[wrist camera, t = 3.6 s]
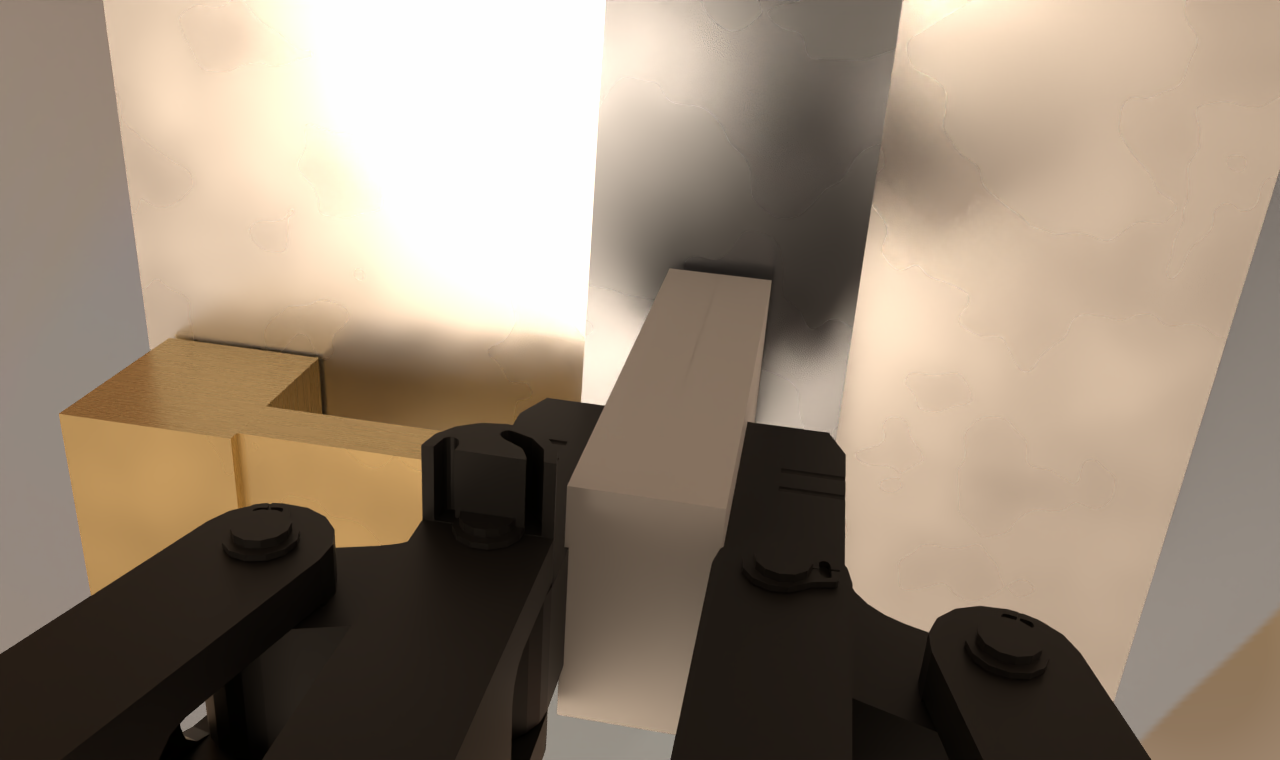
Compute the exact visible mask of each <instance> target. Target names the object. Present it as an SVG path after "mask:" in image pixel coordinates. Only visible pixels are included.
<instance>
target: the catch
mask: <svg viewBox="0 0 1280 760" xmlns="http://www.w3.org/2000/svg"><path fill="white" fill-rule="evenodd" d="M59 417H60V423H61V428H62V434H63V440H64V445H65V451H66V457H67V462H68V468H69V473H70V479H71V485H72V490H73V496H74V502H75V507H76V513H77V518H78V524H79V530H80V535H81V541H82V547H83V552H84V558H85V564H86V569H87V575H88V580H89V586H90V592H91V596H92V595H93V594H95V593H96V592H98V591H99V590H101V589H102V588H104V587H106V586H107V585H109V584H110V583H112V582H113V581H115V580H116V579H118V578H120V577H121V576H123V575H124V574H126V573H127V572H129V571H130V570H132V569H134V568H135V567H137V566H138V565H140V564H141V563H143V562H144V561H146V560H148V559H149V558H151V557H152V556H154V555H155V554H157V553H158V552H160V551H162V550H163V549H165V548H166V547H168V546H169V545H171V544H172V543H174V542H176V541H177V540H179V539H180V538H182V537H183V536H185V535H186V534H188V533H190V532H191V531H193V530H194V529H196V528H197V527H199V526H200V525H202V524H204V523H205V522H207V521H209V520H211V519H213V518H215V517H217V516H219V515H221V514H224V513H226V512H228V511H230V510H234V509H239V508H243V507H247V506H251V505H254V504H261V503H269V504H272V503H284V504H290V505H296V506H301V507H307V508H310V509H311V510H313V511H315V512H317V513H319V514H321V515H323V516H325V517H326V518H327V519H328V521H329V522H330V524H331V525H332V526H333V528H334V529H335V546H336V548H337V547H361V546H381V545H390V544H399V543H403V542H407V541H408V540H409V539H410V537H411V536H412V534H413V533H414V531H415V530H416V528H417V527H418V525H419V524H420V522H421V521H422V468H421V445H422V444H423V443H424V442H425V441H427V440H428V439H429V438H430V437H432V436H433V435H434V434H436V433H439V432H442V431H438V430H431V429H423V428H416V427H409V426H402V425H395V424H388V423H381V422H374V421H366V420H359V419H352V418H345V417H338V416H331V415H324V414H322V401H321V386H320V371H319V358H316V357H309V356H301V355H294V354H286V353H279V352H272V351H264V350H257V349H249V348H242V347H234V346H227V345H219V344H212V343H204V342H197V341H189V340H182V339H174V338H168V339H167V340H165V341H164V342H162V343H161V344H160V345H158V346H157V347H155V348H154V349H152V350H151V351H149V352H148V353H147V354H145V355H144V356H142V357H141V358H139V359H138V360H136V361H135V362H133V363H132V364H131V365H129V366H128V367H126V368H125V369H123V370H122V371H120V372H119V373H117V374H116V375H115V376H113V377H112V378H110V379H109V380H107V381H106V382H104V383H103V384H101V385H100V386H99V387H97V388H96V389H94V390H93V391H91V392H90V393H88V394H87V395H86V396H84V397H83V398H81V399H80V400H78V401H77V402H75V403H74V404H72V405H71V406H70V407H68V408H67V409H65V410H64V411H62V412H61V413H59Z"/></svg>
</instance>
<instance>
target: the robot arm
mask: <svg viewBox="0 0 1280 760" xmlns="http://www.w3.org/2000/svg"><path fill="white" fill-rule="evenodd" d="M771 282H772V280H764V279H755V278H747V277H738V276H730V275H721V274H713V273H704V272H696V271H688V270H679V269H671V268H670V269H669V271H668V273H667V275H666V277H665V279H664V281H663V283H662V286H661V288H660V290H659V292H658V294H657V296H656V298H655V300H654V302H653V305H652V307H651V309H650V311H649V313H648V315H647V317H646V319H645V322H644V324H643V326H642V328H641V330H640V332H639V334H638V336H637V339H636V341H635V343H634V345H633V347H632V349H631V351H630V353H629V356H628V358H627V360H626V362H625V364H624V366H623V368H622V370H621V373H620V375H619V377H618V379H617V381H616V383H615V385H614V387H613V390H612V392H611V394H610V396H609V398H608V400H607V402H606V404H605V405H597V404H590V403H582V402H575V401H567V400H560V399H553V398H546V399H544V400H542V401H540V402H539V403H537V404H535V405H533V406H532V407H530V408H528V409H526V410H525V411H523V412H521V413H520V414H519V416H518V417H517V419H516V420H515V422H514V424H513V425H510V424H498V423H476V424H469V425H461V426H455V427H453V428H450V429H447V430H444V431H442V432H439V433H436V434H434V435H433V436H432V437H430V438H429V439H428V440H427V441H425V442H424V443H423V444H422V445H421V468H422V521H421V522H420V524H419V525H418V527H417V528H416V530H415V531H414V533H413V534H412V536H411V537H410V539H409V540H408V541H407V542H403V543H399V544H390V545H381V546H361V547H337V548H336V546H335V529H334V528H333V526H332V525H331V524H330V522H329V521H328V519H327V518H326V517H325V516H323V515H321V514H319V513H317V512H315V511H313V510H311V509H310V508H307V507H301V506H296V505H290V504H284V503H272V504H269V503H261V504H254V505H251V506H247V507H243V508H239V509H234V510H230V511H228V512H226V513H224V514H221V515H219V516H217V517H215V518H213V519H211V520H209V521H207V522H205V523H204V524H202V525H200V526H199V527H197V528H196V529H194V530H193V531H191V532H190V533H188V534H186V535H185V536H183V537H182V538H180V539H179V540H177V541H176V542H174V543H172V544H171V545H169V546H168V547H166V548H165V549H163V550H162V551H160V552H158V553H157V554H155V555H154V556H152V557H151V558H149V559H148V560H146V561H144V562H143V563H141V564H140V565H138V566H137V567H135V568H134V569H132V570H130V571H129V572H127V573H126V574H124V575H123V576H121V577H120V578H118V579H116V580H115V581H113V582H112V583H110V584H109V585H107V586H106V587H104V588H102V589H101V590H99V591H98V592H96V593H95V594H93V595H92V596H90V597H88V598H87V599H85V600H84V601H82V602H81V603H79V604H78V605H76V606H74V607H73V608H71V609H70V610H68V611H67V612H65V613H64V614H62V615H60V616H59V617H57V618H56V619H54V620H53V621H51V622H50V623H48V624H46V625H45V626H43V627H42V628H40V629H39V630H37V631H36V632H34V633H32V634H31V635H29V636H28V637H26V638H25V639H23V640H22V641H20V642H18V643H17V644H15V645H14V646H12V647H11V648H9V649H8V650H6V651H4V652H3V653H1V654H0V760H542V759H543V756H544V753H545V750H546V735H547V712H548V707H549V704H550V701H551V698H552V696H553V693H554V690H555V687H556V685H557V682H558V679H559V683H558V706H557V714H558V715H564V716H570V717H575V718H581V719H587V720H593V721H599V722H605V723H610V724H616V725H622V726H628V727H633V728H639V729H645V730H651V731H657V732H663V733H668V734H674V735H676V736H675V741H674V746H673V750H672V755H671V760H1151V759H1150V757H1149V756H1148V754H1147V753H1146V751H1145V750H1144V748H1143V747H1142V745H1141V744H1140V742H1139V740H1138V739H1137V737H1136V736H1135V734H1134V733H1133V731H1132V730H1131V728H1130V727H1129V725H1128V724H1127V722H1126V721H1125V719H1124V718H1123V716H1122V715H1121V713H1120V712H1119V710H1118V709H1117V707H1116V706H1115V704H1114V703H1113V701H1112V700H1111V698H1110V697H1109V695H1108V694H1107V692H1106V691H1105V689H1104V688H1103V686H1102V685H1101V683H1100V681H1099V680H1098V678H1097V677H1096V675H1095V674H1094V672H1093V671H1092V669H1091V668H1090V666H1089V665H1088V663H1087V662H1086V660H1085V659H1084V657H1083V656H1082V654H1081V653H1080V652H1079V651H1078V650H1077V649H1076V648H1075V646H1074V645H1073V644H1072V643H1071V642H1070V641H1069V640H1068V639H1067V638H1066V637H1065V636H1064V635H1063V634H1061V633H1060V632H1058V631H1056V630H1055V629H1053V628H1051V627H1050V626H1048V625H1047V624H1045V623H1043V622H1042V621H1040V620H1038V619H1035V618H1033V617H1030V616H1028V615H1025V614H1023V613H1022V614H1021V613H1019V612H1016V611H1012V610H1009V609H1003V608H994V607H987V606H973V607H965V608H956V609H953V610H952V611H950V612H948V613H946V614H944V615H942V616H940V617H938V618H937V619H936V621H935V622H934V624H933V626H932V628H931V629H930V631H929V632H926V631H923V630H921V629H918V628H915V627H912V626H910V625H907V624H904V623H902V622H900V621H898V620H895V619H893V618H891V617H889V616H886V615H884V614H883V613H881V612H880V611H878V610H876V609H875V608H873V607H872V606H870V605H869V604H867V603H866V602H865V601H864V600H863V599H862V598H861V597H860V596H859V595H858V594H857V593H856V592H855V591H854V589H853V583H852V580H851V577H850V574H849V571H848V568H847V567H846V566H845V490H846V481H845V478H846V454H845V453H844V452H843V450H842V449H841V448H840V446H839V445H838V444H837V443H836V441H835V440H834V439H833V437H832V436H831V435H830V434H829V433H828V432H820V431H813V430H806V429H798V428H791V427H783V426H776V425H768V424H761V423H755V415H756V406H757V398H758V390H759V381H760V373H761V365H762V357H763V348H764V340H765V332H766V323H767V315H768V307H769V298H770V290H771ZM203 702H206V710H207V715H206V716H205V717H204V718H203V719H202V720H200V721H199V722H198V723H197V724H196V725H194V726H193V727H191V728H190V729H188V730H186V731H184V732H182V730H181V728H180V723H181V722H182V721H183V720H184V719H185V717H187V716H188V715H189V714H190V713H191V712H193V711H194V710H195V709H196V708H197V707H199V706H200V705H201V704H202V703H203Z"/></svg>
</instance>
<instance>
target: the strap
mask: <svg viewBox="0 0 1280 760" xmlns="http://www.w3.org/2000/svg"><path fill="white" fill-rule="evenodd" d="M902 3H903V0H605V14H604V31H603V47H602V64H601V80H600V97H599V113H598V130H597V147H596V163H595V180H594V196H593V213H592V229H591V246H590V262H589V279H588V296H587V312H586V329H585V345H584V362H583V378H582V395H581V402H582V403H590V404H597V405H605V404H606V402H607V400H608V398H609V396H610V394H611V392H612V390H613V387H614V385H615V383H616V381H617V379H618V377H619V375H620V373H621V370H622V368H623V366H624V364H625V362H626V360H627V358H628V356H629V353H630V351H631V349H632V347H633V345H634V343H635V341H636V339H637V336H638V334H639V332H640V330H641V328H642V326H643V324H644V322H645V319H646V317H647V315H648V313H649V311H650V309H651V307H652V305H653V302H654V300H655V298H656V296H657V294H658V292H659V290H660V288H661V286H662V283H663V281H664V279H665V277H666V275H667V273H668V271H669V269H670V268H671V269H679V270H688V271H696V272H704V273H713V274H721V275H730V276H738V277H747V278H755V279H764V280H772V282H771V290H770V298H769V307H768V315H767V323H766V332H765V340H764V348H763V357H762V365H761V373H760V381H759V390H758V398H757V406H756V415H755V423H761V424H768V425H776V426H783V427H791V428H798V429H806V430H813V431H820V432H828V433H829V434H830V435H831V436H832V437H833V439H834V440H835V441H836V437H837V430H838V424H839V417H840V411H841V404H842V397H843V391H844V384H845V378H846V371H847V365H848V358H849V351H850V345H851V338H852V332H853V325H854V319H855V312H856V305H857V299H858V292H859V286H860V279H861V272H862V266H863V259H864V253H865V246H866V240H867V233H868V226H869V220H870V213H871V207H872V200H873V194H874V187H875V180H876V174H877V167H878V161H879V154H880V148H881V141H882V134H883V128H884V121H885V115H886V108H887V101H888V95H889V88H890V82H891V75H892V69H893V62H894V55H895V49H896V42H897V36H898V29H899V23H900V16H901V9H902Z"/></svg>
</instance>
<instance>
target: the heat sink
mask: <svg viewBox="0 0 1280 760" xmlns="http://www.w3.org/2000/svg"><path fill="white" fill-rule="evenodd" d="M103 4H104V11H105V19H106V26H107V34H108V41H109V48H110V56H111V63H112V71H113V78H114V86H115V93H116V100H117V108H118V115H119V123H120V130H121V137H122V145H123V152H124V160H125V167H126V175H127V182H128V189H129V197H130V204H131V212H132V219H133V226H134V234H135V241H136V249H137V256H138V264H139V271H140V278H141V286H142V293H143V301H144V308H145V315H146V323H147V330H148V338H149V345H150V351H151V350H152V349H154V348H155V347H157V346H158V345H160V344H161V343H162V342H164V341H165V340H167V339H168V338H174V339H182V340H189V341H197V342H204V343H212V344H219V345H227V346H234V347H242V348H249V349H257V350H264V351H272V352H279V353H286V354H294V355H301V356H309V357H316V358H319V371H320V386H321V401H322V414H324V415H331V416H338V417H345V418H352V419H359V420H366V421H374V422H381V423H388V424H395V425H402V426H409V427H416V428H423V429H431V430H438V431H444V430H447V429H450V428H453V427H455V426H461V425H469V424H476V423H498V424H510V425H513V424H514V422H515V420H516V419H517V417H518V416H519V414H520V413H521V412H523V411H525V410H526V409H528V408H530V407H532V406H533V405H535V404H537V403H539V402H540V401H542V400H544V399H546V398H553V399H560V400H567V401H575V402H581V395H582V378H583V362H584V345H585V329H586V312H587V296H588V279H589V262H590V246H591V229H592V213H593V196H594V180H595V163H596V147H597V130H598V113H599V97H600V80H601V64H602V47H603V31H604V14H605V0H103ZM1279 170H1280V0H903V3H902V9H901V16H900V23H899V29H898V36H897V42H896V49H895V55H894V62H893V69H892V75H891V82H890V88H889V95H888V101H887V108H886V115H885V121H884V128H883V134H882V141H881V148H880V154H879V161H878V167H877V174H876V180H875V187H874V194H873V200H872V207H871V213H870V220H869V226H868V233H867V240H866V246H865V253H864V259H863V266H862V272H861V279H860V286H859V292H858V299H857V305H856V312H855V319H854V325H853V332H852V338H851V345H850V351H849V358H848V365H847V371H846V378H845V384H844V391H843V397H842V404H841V411H840V417H839V424H838V430H837V437H836V443H837V444H838V445H839V446H840V448H841V449H842V450H843V452H844V453H845V454H846V478H845V481H846V490H845V566H846V567H847V568H848V571H849V574H850V577H851V580H852V583H853V589H854V591H855V592H856V593H857V594H858V595H859V596H860V597H861V598H862V599H863V600H864V601H865V602H866V603H867V604H869V605H870V606H872V607H873V608H875V609H876V610H878V611H880V612H881V613H883V614H884V615H886V616H889V617H891V618H893V619H895V620H898V621H900V622H902V623H904V624H907V625H910V626H912V627H915V628H918V629H921V630H923V631H926V632H929V631H930V629H931V628H932V626H933V624H934V622H935V621H936V619H937V618H938V617H940V616H942V615H944V614H946V613H948V612H950V611H952V610H953V609H956V608H965V607H973V606H987V607H994V608H1003V609H1009V610H1012V611H1016V612H1019V613H1021V614H1022V613H1023V614H1025V615H1028V616H1030V617H1033V618H1035V619H1038V620H1040V621H1042V622H1043V623H1045V624H1047V625H1048V626H1050V627H1051V628H1053V629H1055V630H1056V631H1058V632H1060V633H1061V634H1063V635H1064V636H1065V637H1066V638H1067V639H1068V640H1069V641H1070V642H1071V643H1072V644H1073V645H1074V646H1075V648H1076V649H1077V650H1078V651H1079V652H1080V653H1081V654H1082V656H1083V657H1084V659H1085V660H1086V662H1087V663H1088V665H1089V666H1090V668H1091V669H1092V671H1093V672H1094V674H1095V675H1096V677H1097V678H1098V680H1099V681H1100V683H1101V685H1102V686H1103V688H1104V689H1105V691H1106V692H1107V694H1108V695H1109V697H1110V698H1111V700H1112V701H1113V702H1114V699H1115V696H1116V693H1117V689H1118V686H1119V683H1120V680H1121V677H1122V673H1123V670H1124V667H1125V664H1126V661H1127V657H1128V654H1129V651H1130V648H1131V645H1132V641H1133V638H1134V635H1135V632H1136V629H1137V625H1138V622H1139V619H1140V616H1141V613H1142V609H1143V606H1144V603H1145V600H1146V597H1147V593H1148V590H1149V587H1150V584H1151V580H1152V577H1153V574H1154V571H1155V568H1156V564H1157V561H1158V558H1159V555H1160V552H1161V548H1162V545H1163V542H1164V539H1165V536H1166V532H1167V529H1168V526H1169V523H1170V520H1171V516H1172V513H1173V510H1174V507H1175V504H1176V500H1177V497H1178V494H1179V491H1180V487H1181V484H1182V481H1183V478H1184V475H1185V471H1186V468H1187V465H1188V462H1189V459H1190V455H1191V452H1192V449H1193V446H1194V443H1195V439H1196V436H1197V433H1198V430H1199V427H1200V423H1201V420H1202V417H1203V414H1204V411H1205V407H1206V404H1207V401H1208V398H1209V395H1210V391H1211V388H1212V385H1213V382H1214V378H1215V375H1216V372H1217V369H1218V366H1219V362H1220V359H1221V356H1222V353H1223V350H1224V346H1225V343H1226V340H1227V337H1228V334H1229V330H1230V327H1231V324H1232V321H1233V318H1234V314H1235V311H1236V308H1237V305H1238V302H1239V298H1240V295H1241V292H1242V289H1243V286H1244V282H1245V279H1246V276H1247V273H1248V269H1249V266H1250V263H1251V260H1252V257H1253V253H1254V250H1255V247H1256V244H1257V241H1258V237H1259V234H1260V231H1261V228H1262V225H1263V221H1264V218H1265V215H1266V212H1267V209H1268V205H1269V202H1270V199H1271V196H1272V193H1273V189H1274V186H1275V183H1276V180H1277V177H1278V173H1279Z"/></svg>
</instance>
